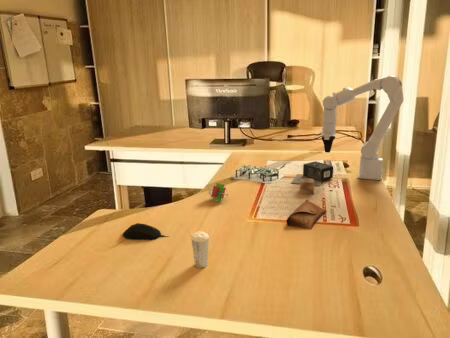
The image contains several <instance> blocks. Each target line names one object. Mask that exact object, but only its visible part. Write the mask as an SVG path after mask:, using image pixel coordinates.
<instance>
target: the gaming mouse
mask: <svg viewBox="0 0 450 338" xmlns="http://www.w3.org/2000/svg"><path fill="white" fill-rule="evenodd" d="M122 235H123V238H125V239H126V240H133V241H135V240H137V241H154V240H157V239H159V238H160V237H161V238H169V237H170V236H169V235H168V236H167V235H164V234H162V233H161V231H160V229H158V228H156V227H154V226H152V225H148V224H146V223H139V222H137V223H134V224H131V225H130V226H129V227H128V228H126V230H124V232H122Z"/></svg>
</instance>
